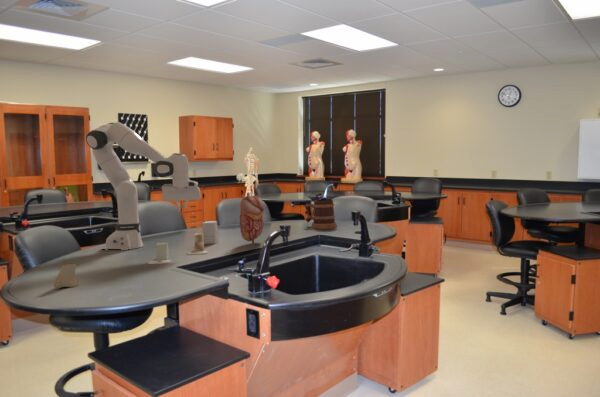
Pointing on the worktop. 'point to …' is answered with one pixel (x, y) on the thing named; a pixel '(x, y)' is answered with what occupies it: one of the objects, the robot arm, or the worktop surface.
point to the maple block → (199, 242)
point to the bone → (66, 276)
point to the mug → (321, 213)
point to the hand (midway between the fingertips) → (182, 208)
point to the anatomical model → (251, 217)
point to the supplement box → (210, 232)
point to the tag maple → (197, 252)
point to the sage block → (162, 251)
